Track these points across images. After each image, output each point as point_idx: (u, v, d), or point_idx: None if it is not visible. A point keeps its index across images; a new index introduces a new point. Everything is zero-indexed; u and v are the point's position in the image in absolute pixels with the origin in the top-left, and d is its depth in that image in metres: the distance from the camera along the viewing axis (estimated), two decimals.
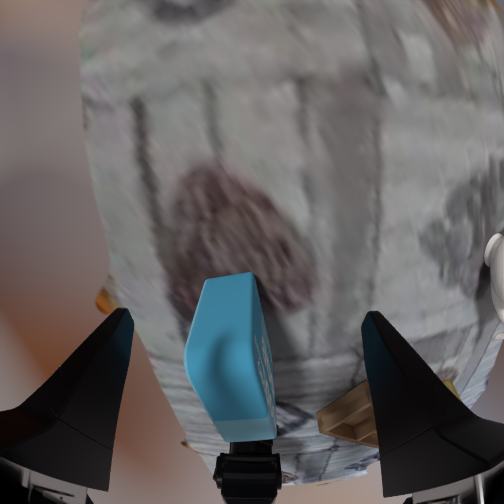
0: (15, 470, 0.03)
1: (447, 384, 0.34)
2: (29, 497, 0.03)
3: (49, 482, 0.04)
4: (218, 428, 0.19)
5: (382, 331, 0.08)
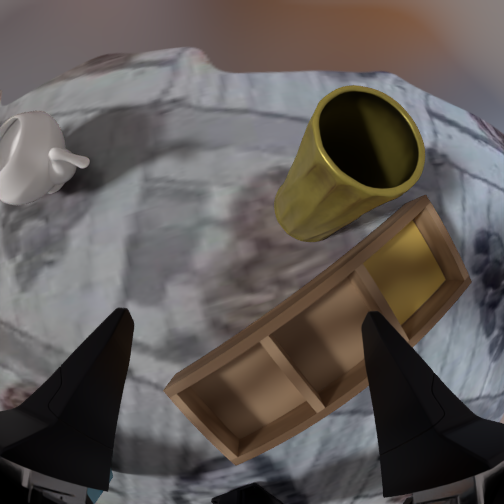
0: (15, 470, 0.03)
1: (278, 195, 0.23)
2: (29, 497, 0.03)
3: (49, 482, 0.04)
4: None
5: (382, 331, 0.08)
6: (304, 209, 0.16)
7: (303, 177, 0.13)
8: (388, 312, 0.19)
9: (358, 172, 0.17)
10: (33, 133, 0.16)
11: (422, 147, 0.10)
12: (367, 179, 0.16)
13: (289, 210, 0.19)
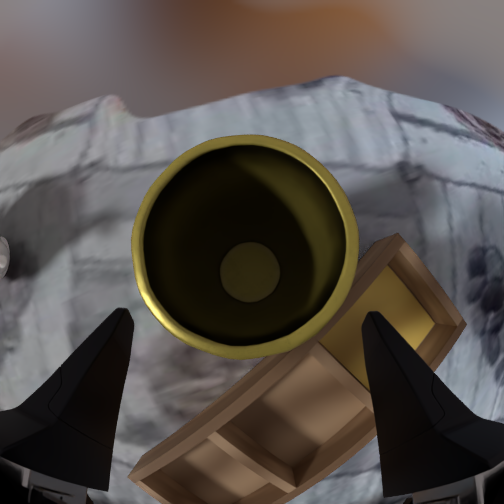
0: (15, 470, 0.03)
1: None
2: (29, 497, 0.03)
3: (49, 482, 0.04)
4: None
5: (382, 331, 0.08)
6: None
7: None
8: (358, 390, 0.15)
9: (288, 239, 0.13)
10: None
11: (352, 233, 0.06)
12: (298, 252, 0.12)
13: None
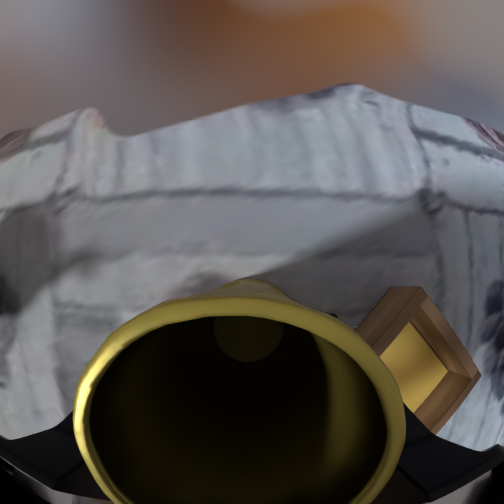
0: (60, 497, 0.03)
1: None
2: None
3: None
4: None
5: None
6: None
7: None
8: None
9: None
10: None
11: (396, 448, 0.03)
12: (308, 348, 0.09)
13: None
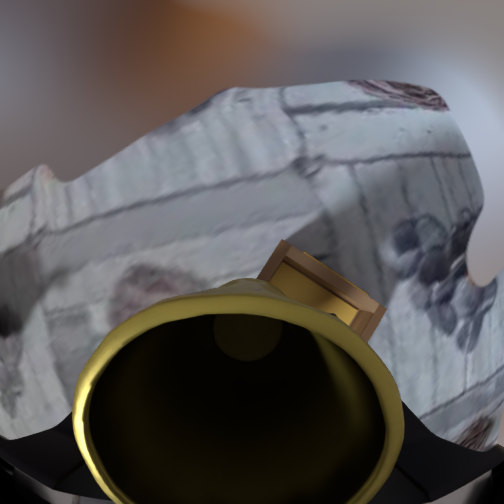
0: (60, 497, 0.03)
1: None
2: None
3: None
4: None
5: None
6: None
7: None
8: None
9: (295, 323, 0.10)
10: None
11: (395, 446, 0.03)
12: (307, 346, 0.09)
13: None
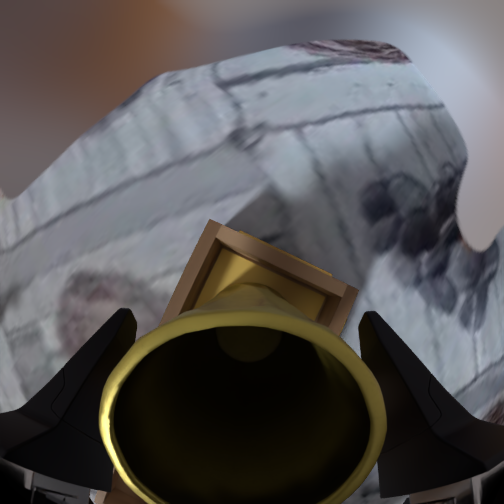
0: (18, 472, 0.03)
1: None
2: (32, 499, 0.03)
3: (52, 484, 0.04)
4: None
5: (379, 331, 0.08)
6: None
7: None
8: None
9: None
10: None
11: (378, 438, 0.04)
12: (305, 349, 0.10)
13: None
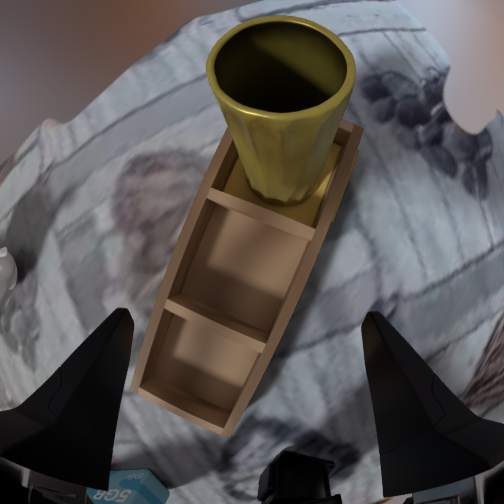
0: (15, 470, 0.03)
1: None
2: (29, 497, 0.03)
3: (49, 482, 0.04)
4: None
5: (382, 331, 0.08)
6: (255, 168, 0.14)
7: (231, 131, 0.11)
8: (267, 214, 0.19)
9: None
10: None
11: (348, 55, 0.07)
12: None
13: (250, 175, 0.17)
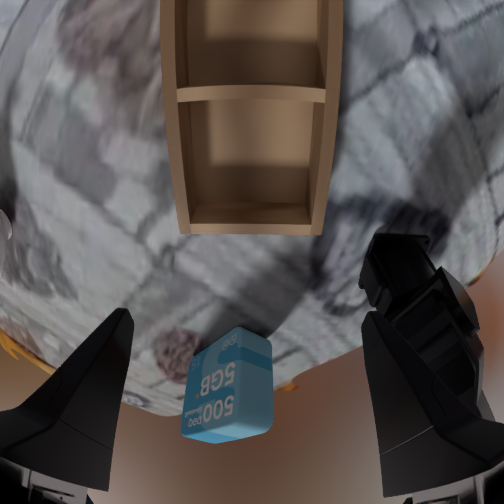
0: (15, 470, 0.03)
1: None
2: (29, 497, 0.03)
3: (49, 482, 0.04)
4: (248, 436, 0.25)
5: (382, 331, 0.08)
6: None
7: None
8: None
9: None
10: None
11: None
12: None
13: None
